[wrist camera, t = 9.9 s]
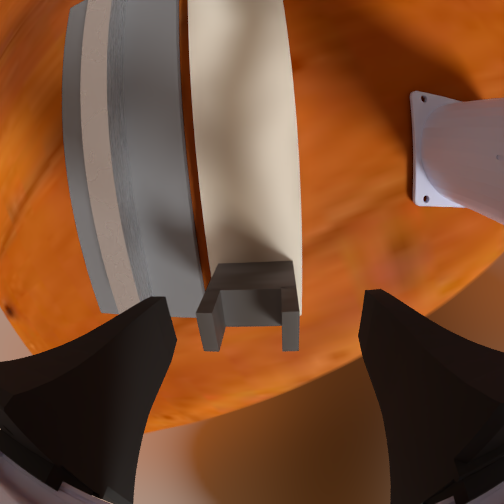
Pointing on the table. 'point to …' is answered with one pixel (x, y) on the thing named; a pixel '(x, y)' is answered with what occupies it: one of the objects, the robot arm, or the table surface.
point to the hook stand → (246, 167)
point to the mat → (140, 155)
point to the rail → (110, 153)
